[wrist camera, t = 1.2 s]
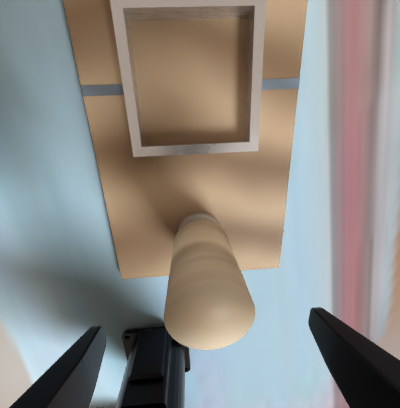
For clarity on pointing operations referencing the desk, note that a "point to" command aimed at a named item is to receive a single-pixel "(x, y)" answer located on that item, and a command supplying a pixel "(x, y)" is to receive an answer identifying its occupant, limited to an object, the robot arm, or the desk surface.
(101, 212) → the desk surface
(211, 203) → the subfloor panel
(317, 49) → the desk surface
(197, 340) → the beige rounded cylinder
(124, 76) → the collar
